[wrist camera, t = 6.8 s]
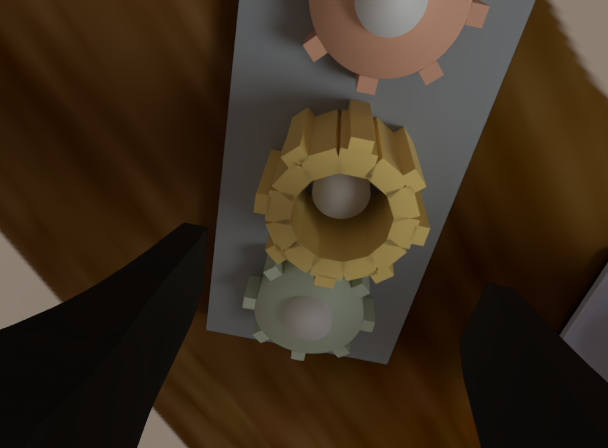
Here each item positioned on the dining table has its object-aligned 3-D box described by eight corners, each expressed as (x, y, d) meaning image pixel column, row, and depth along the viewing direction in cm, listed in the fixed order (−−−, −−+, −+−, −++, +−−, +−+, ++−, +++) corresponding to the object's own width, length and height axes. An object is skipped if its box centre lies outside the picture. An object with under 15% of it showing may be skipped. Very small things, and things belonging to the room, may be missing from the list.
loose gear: (438, 117, 17) (457, 158, 14) (393, 245, 20) (401, 302, 17) (281, 85, 17) (266, 119, 14) (260, 219, 20) (244, 271, 17)
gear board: (569, -116, 14) (619, -126, 11) (385, 349, 24) (390, 398, 22) (263, -184, 14) (244, -210, 11) (211, 315, 24) (194, 361, 21)
